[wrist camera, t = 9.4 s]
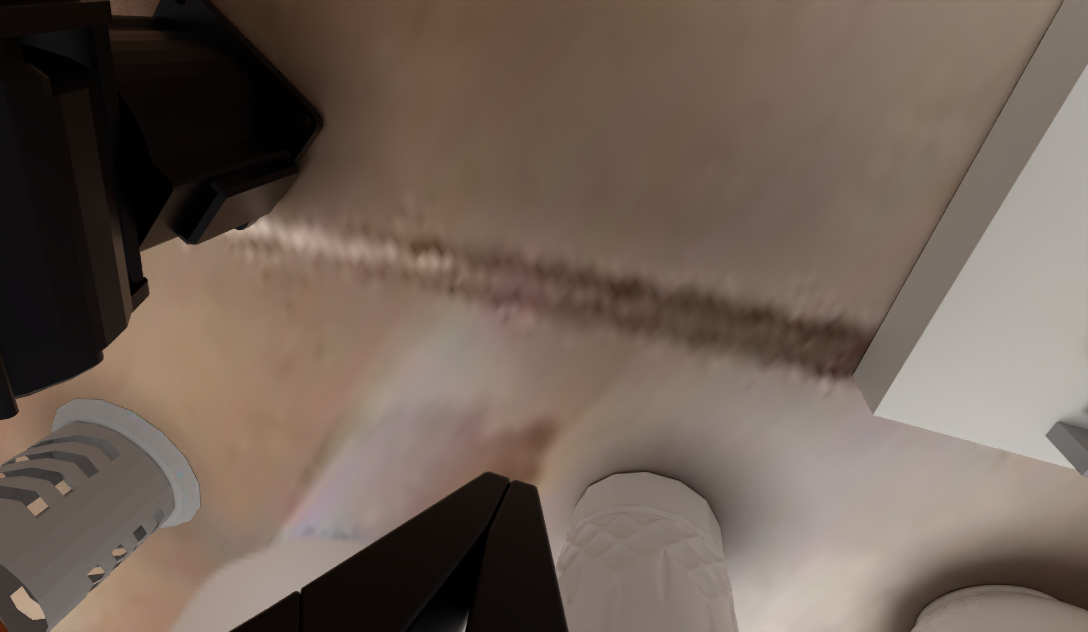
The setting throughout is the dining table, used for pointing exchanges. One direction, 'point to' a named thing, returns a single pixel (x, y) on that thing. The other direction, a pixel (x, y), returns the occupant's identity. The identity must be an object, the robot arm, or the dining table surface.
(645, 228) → the dining table surface
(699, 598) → the white cup
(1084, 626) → the lidded jar
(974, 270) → the switch console
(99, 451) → the french press
